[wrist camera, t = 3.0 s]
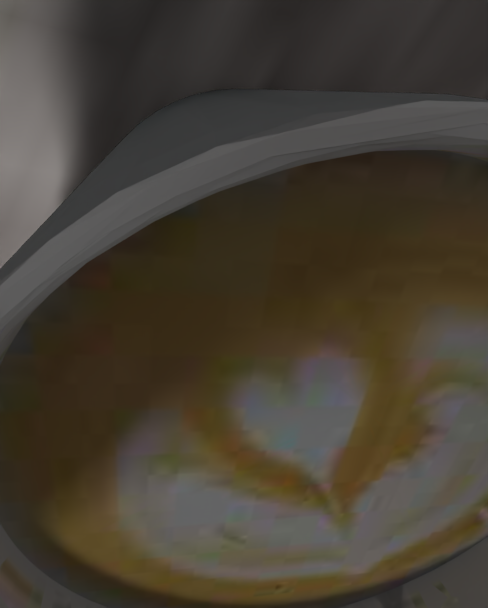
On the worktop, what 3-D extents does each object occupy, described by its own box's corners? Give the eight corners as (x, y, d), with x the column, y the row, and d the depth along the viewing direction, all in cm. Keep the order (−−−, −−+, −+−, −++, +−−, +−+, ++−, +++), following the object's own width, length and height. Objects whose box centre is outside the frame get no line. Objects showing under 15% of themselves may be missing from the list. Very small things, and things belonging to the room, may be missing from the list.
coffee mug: (125, 24, 10) (-184, -388, 1) (425, 160, 13) (926, 305, 4) (48, 406, 15) (-110, 812, 7) (272, 439, 18) (361, 749, 10)
